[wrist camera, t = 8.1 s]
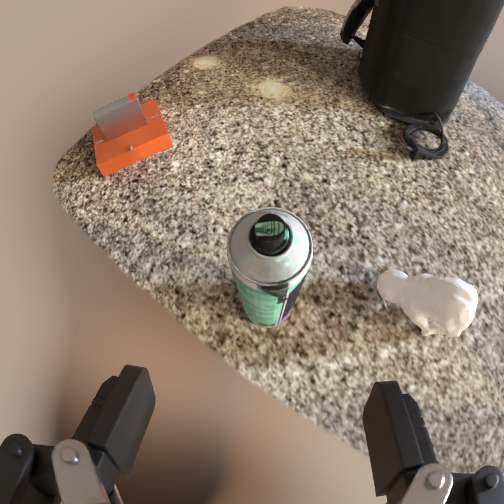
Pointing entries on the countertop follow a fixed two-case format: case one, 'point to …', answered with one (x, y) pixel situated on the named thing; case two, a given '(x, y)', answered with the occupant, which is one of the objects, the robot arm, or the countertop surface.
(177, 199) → the countertop surface
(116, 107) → the gray slab
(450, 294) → the white lumpy figure
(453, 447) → the countertop surface
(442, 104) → the coffee maker
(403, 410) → the robot arm
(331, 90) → the countertop surface
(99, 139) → the orange flat block
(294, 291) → the spray can
